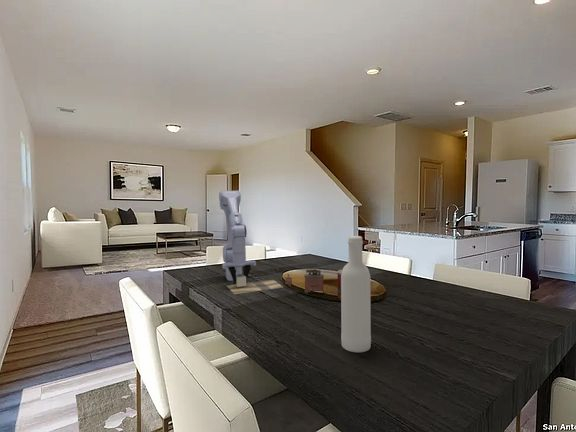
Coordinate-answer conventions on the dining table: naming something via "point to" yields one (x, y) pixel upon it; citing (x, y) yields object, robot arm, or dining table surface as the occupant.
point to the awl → (288, 280)
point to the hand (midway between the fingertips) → (240, 283)
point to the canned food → (339, 283)
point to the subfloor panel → (255, 286)
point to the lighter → (313, 280)
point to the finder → (240, 280)
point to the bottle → (355, 300)
